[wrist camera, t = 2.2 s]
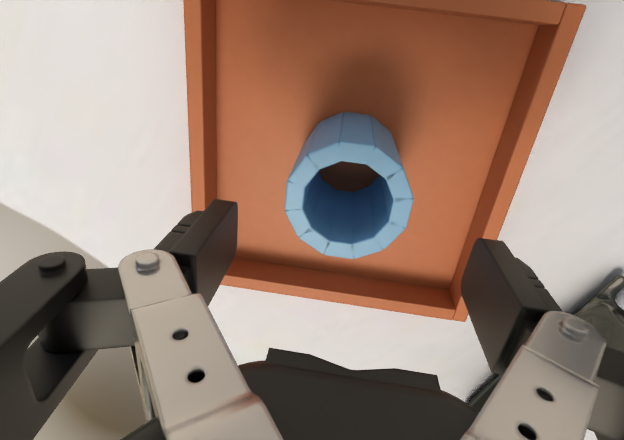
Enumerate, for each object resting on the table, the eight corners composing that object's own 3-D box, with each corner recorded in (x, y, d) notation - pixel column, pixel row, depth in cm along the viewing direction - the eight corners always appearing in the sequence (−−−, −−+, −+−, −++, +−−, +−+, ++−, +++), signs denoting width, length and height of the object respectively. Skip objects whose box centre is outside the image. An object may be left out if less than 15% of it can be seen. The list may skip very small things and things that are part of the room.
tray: (207, 259, 25) (194, 280, 23) (201, -35, 18) (181, -44, 16) (456, 297, 25) (465, 322, 23) (559, 7, 17) (588, 4, 15)
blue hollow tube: (298, 196, 22) (280, 249, 17) (307, 106, 20) (290, 134, 15) (387, 209, 22) (397, 266, 17) (406, 119, 20) (425, 152, 14)
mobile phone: (509, 488, 25) (715, 351, 18) (471, 472, 25) (666, 326, 18) (487, 419, 30) (647, 287, 23) (454, 405, 29) (607, 266, 22)
